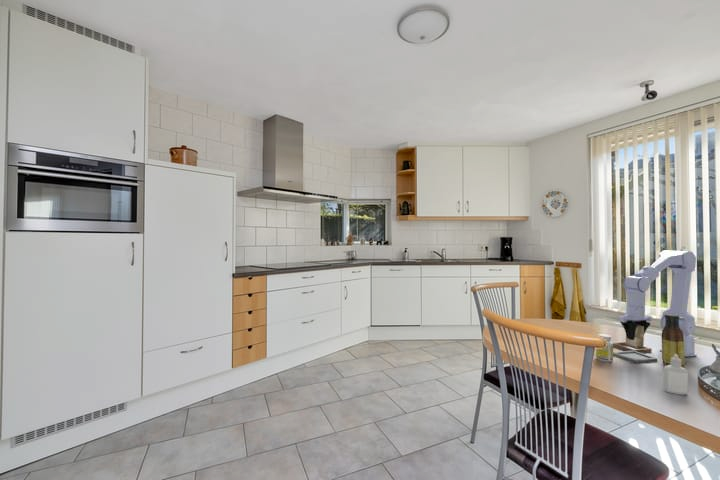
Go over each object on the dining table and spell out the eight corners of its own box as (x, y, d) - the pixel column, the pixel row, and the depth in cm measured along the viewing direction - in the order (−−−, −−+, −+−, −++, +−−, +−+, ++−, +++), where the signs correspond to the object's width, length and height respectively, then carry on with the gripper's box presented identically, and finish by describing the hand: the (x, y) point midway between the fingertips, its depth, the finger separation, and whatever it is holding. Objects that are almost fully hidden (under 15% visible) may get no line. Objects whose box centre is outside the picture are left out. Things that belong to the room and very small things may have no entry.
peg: (633, 343, 134) (633, 323, 134) (643, 346, 130) (643, 326, 130) (625, 343, 133) (625, 324, 133) (635, 346, 129) (636, 327, 129)
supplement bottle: (607, 357, 132) (607, 333, 132) (616, 362, 127) (616, 337, 127) (592, 356, 133) (593, 333, 133) (601, 361, 127) (601, 337, 127)
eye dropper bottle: (687, 397, 99) (688, 358, 99) (662, 391, 103) (663, 353, 103) (687, 392, 102) (688, 355, 102) (663, 387, 106) (664, 350, 106)
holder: (628, 344, 148) (628, 341, 148) (651, 352, 139) (651, 348, 139) (611, 346, 146) (611, 342, 146) (633, 353, 137) (633, 350, 137)
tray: (633, 353, 137) (633, 350, 137) (657, 361, 129) (657, 358, 129) (612, 355, 135) (612, 352, 135) (635, 363, 126) (635, 360, 126)
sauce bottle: (679, 365, 125) (681, 314, 125) (688, 371, 119) (689, 317, 119) (658, 362, 128) (659, 312, 128) (664, 367, 122) (666, 315, 122)
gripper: (639, 303, 137) (638, 335, 137) (611, 304, 134) (610, 336, 134) (657, 306, 130) (656, 340, 130) (629, 307, 127) (628, 342, 127)
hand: (634, 338), depth 132 cm, fingers closed on peg, 4 cm apart
